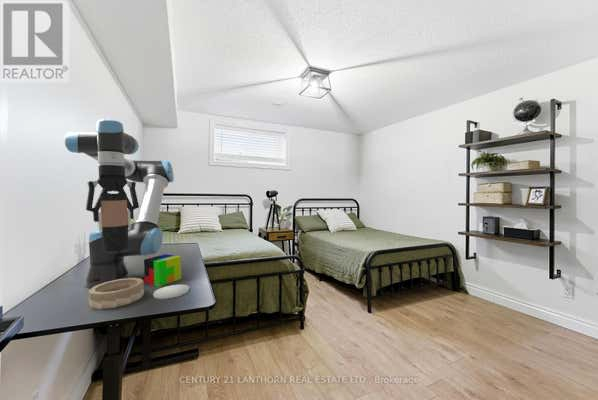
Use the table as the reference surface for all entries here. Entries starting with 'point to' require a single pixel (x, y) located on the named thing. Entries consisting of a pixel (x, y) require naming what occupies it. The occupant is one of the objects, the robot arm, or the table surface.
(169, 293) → the white round disc
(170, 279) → the puzzle toy
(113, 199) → the travel mug
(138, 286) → the holder ring
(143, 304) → the table surface
